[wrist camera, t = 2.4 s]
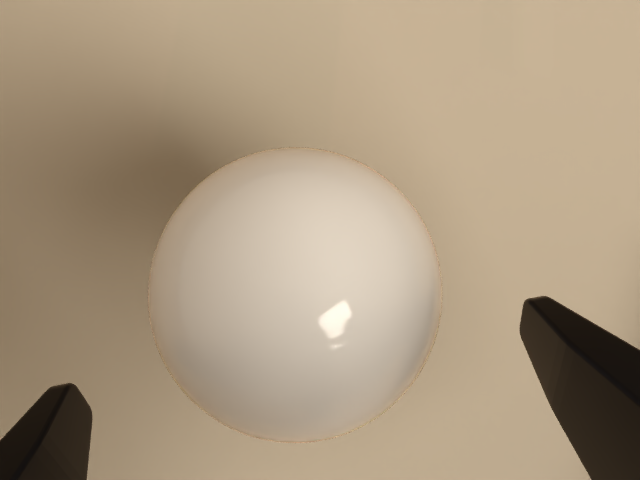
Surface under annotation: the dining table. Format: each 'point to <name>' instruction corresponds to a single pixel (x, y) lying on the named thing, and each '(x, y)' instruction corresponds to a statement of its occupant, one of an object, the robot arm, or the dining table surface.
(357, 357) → the lightbulb
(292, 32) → the dining table surface
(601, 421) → the robot arm
